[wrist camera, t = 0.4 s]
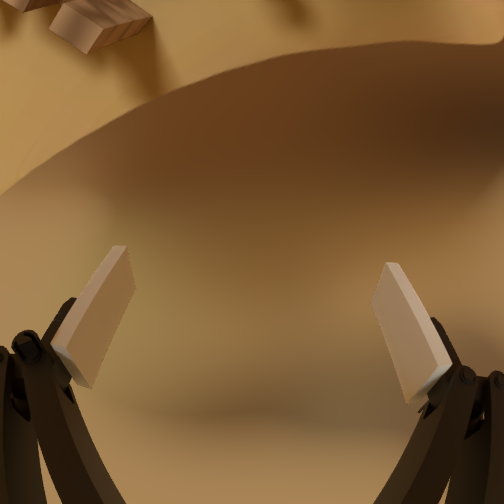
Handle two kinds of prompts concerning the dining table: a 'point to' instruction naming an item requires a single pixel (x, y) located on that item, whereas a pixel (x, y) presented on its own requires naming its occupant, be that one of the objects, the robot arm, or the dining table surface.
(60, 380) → the robot arm
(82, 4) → the slotted board
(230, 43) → the dining table surface
